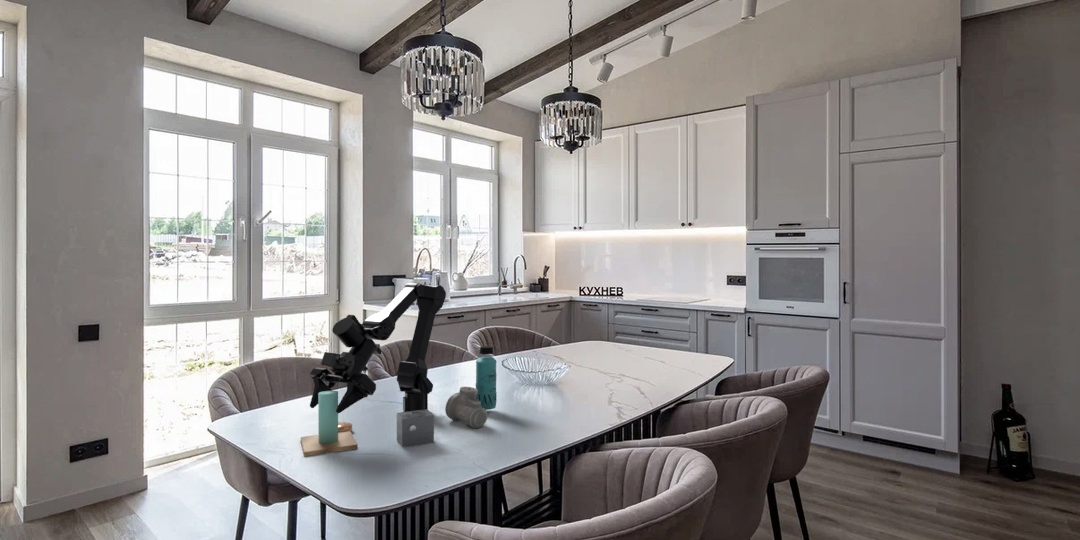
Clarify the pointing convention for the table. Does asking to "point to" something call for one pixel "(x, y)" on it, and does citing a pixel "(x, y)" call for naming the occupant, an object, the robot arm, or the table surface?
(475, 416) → the pipe fitting
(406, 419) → the box
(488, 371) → the beverage bottle
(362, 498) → the table surface
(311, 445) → the board
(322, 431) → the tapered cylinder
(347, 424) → the copper dome
